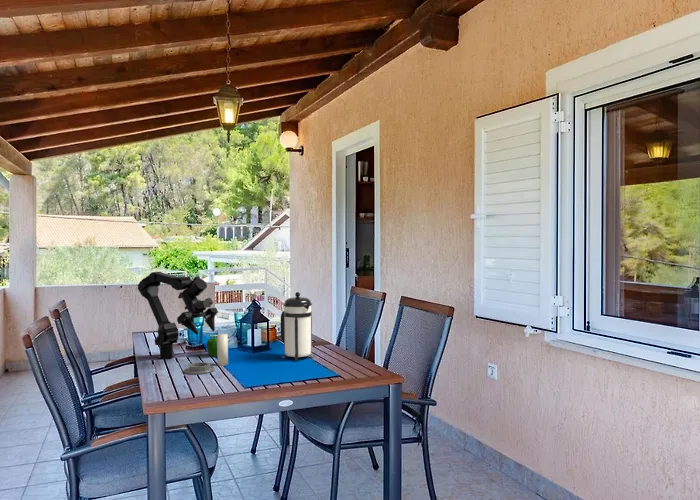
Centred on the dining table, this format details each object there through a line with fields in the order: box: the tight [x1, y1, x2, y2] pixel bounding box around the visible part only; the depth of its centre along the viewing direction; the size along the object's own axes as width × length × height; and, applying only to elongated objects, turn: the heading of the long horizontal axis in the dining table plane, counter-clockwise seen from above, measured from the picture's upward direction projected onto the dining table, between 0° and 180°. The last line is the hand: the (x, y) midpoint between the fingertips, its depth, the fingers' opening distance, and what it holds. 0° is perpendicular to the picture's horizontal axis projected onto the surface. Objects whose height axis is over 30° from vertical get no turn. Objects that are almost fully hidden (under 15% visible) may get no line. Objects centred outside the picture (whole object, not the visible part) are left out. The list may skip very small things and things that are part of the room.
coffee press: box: [280, 291, 316, 362], centre depth 242 cm, size 17×16×30 cm
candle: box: [216, 333, 229, 367], centre depth 230 cm, size 4×4×13 cm
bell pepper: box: [206, 334, 218, 358], centre depth 247 cm, size 8×8×10 cm
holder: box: [184, 361, 216, 376], centre depth 219 cm, size 12×12×3 cm
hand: (205, 332), depth 229 cm, fingers open, 9 cm apart
